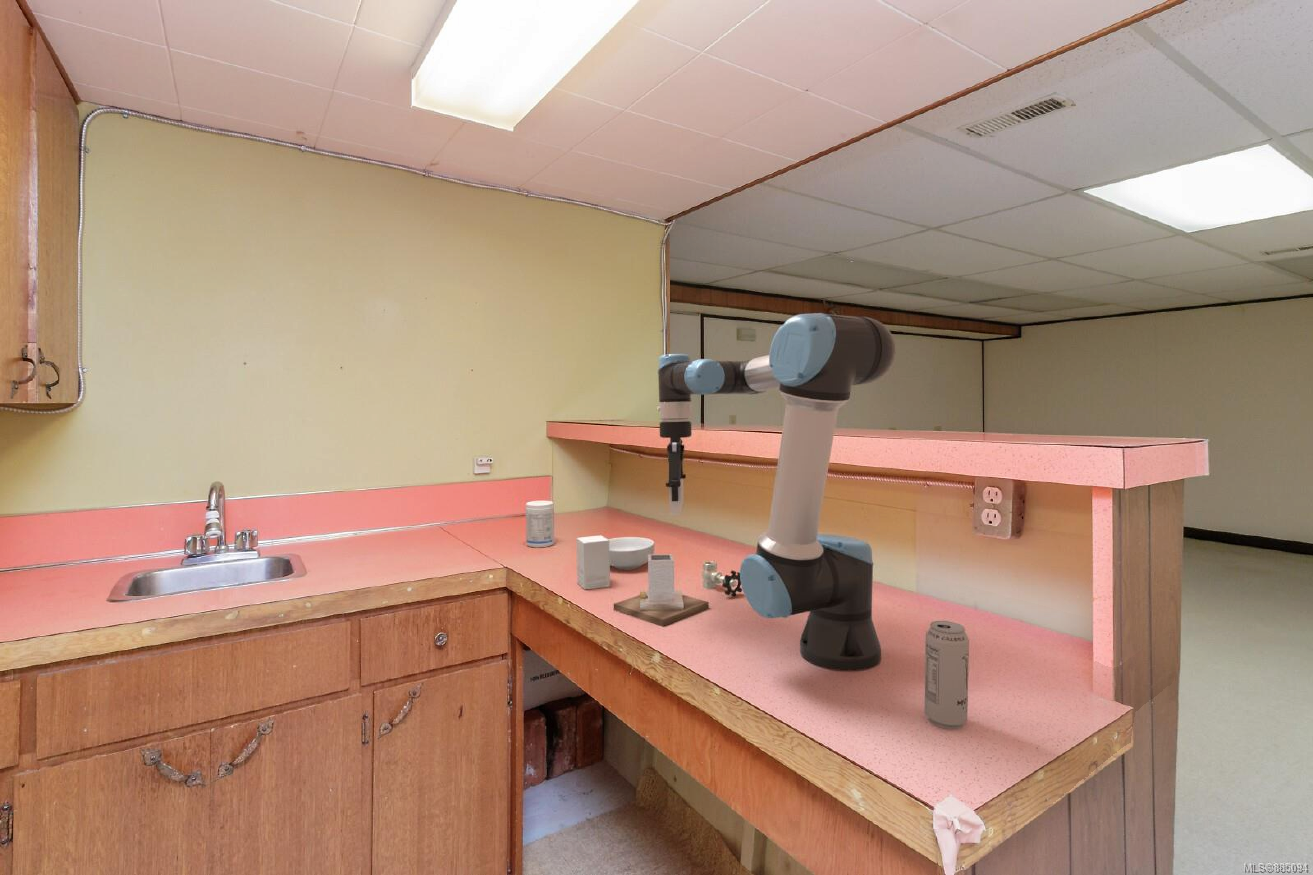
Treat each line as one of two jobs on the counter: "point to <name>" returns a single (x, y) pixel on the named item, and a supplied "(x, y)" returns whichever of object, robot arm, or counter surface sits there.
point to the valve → (720, 578)
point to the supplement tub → (540, 523)
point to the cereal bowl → (629, 552)
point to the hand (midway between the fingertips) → (676, 510)
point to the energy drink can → (946, 674)
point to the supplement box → (593, 562)
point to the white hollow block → (661, 585)
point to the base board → (660, 616)
